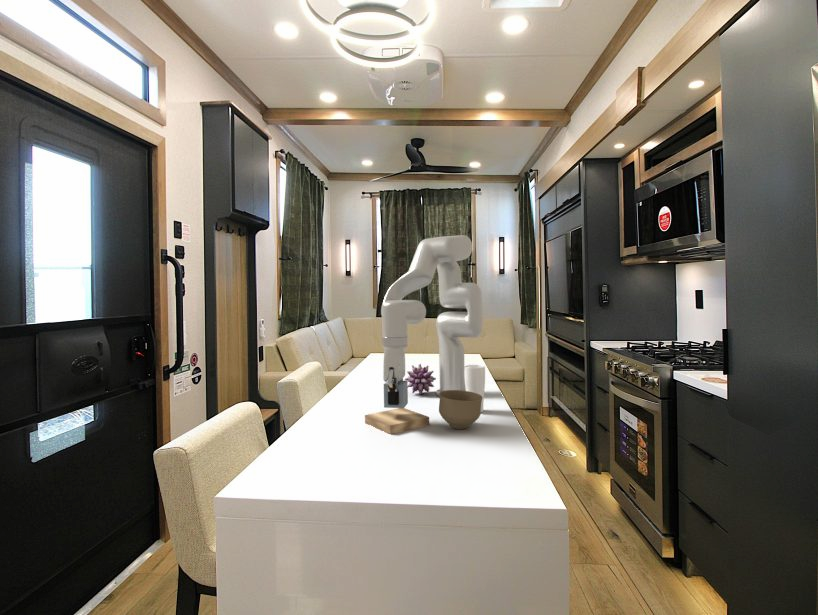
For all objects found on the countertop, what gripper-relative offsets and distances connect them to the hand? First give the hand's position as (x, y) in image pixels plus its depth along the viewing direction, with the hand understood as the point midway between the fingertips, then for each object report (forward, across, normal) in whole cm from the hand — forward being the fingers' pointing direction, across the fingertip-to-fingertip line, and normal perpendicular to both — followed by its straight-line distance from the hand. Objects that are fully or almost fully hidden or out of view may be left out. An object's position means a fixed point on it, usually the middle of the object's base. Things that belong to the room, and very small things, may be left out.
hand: (396, 401), depth 139 cm
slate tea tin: (+1, 0, 0) cm, 1 cm away
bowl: (+7, 0, +20) cm, 21 cm away
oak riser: (+7, 0, 0) cm, 7 cm away
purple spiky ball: (+7, -39, +1) cm, 39 cm away
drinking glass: (+7, -17, +23) cm, 29 cm away
